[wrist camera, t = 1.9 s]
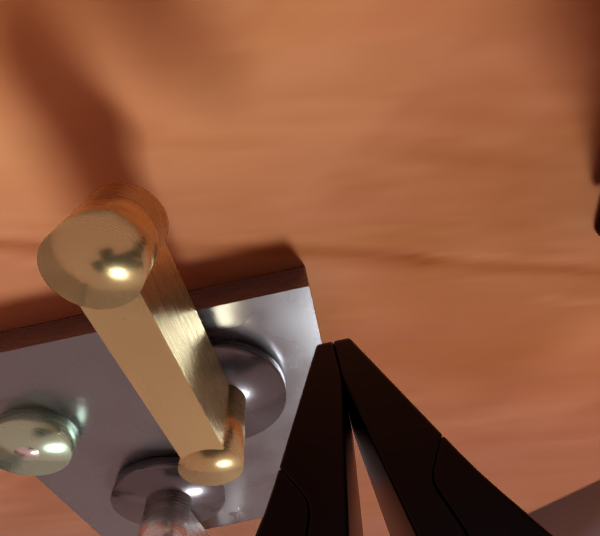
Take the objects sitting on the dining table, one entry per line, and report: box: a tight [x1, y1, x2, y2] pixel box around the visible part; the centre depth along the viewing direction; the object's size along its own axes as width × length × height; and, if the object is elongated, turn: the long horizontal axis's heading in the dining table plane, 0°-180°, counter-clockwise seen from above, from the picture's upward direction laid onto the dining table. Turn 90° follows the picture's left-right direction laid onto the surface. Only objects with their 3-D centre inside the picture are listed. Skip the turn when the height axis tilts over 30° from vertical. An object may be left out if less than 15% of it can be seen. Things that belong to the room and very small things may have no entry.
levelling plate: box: [0, 266, 322, 536], centre depth 19 cm, size 16×17×2 cm
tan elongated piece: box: [37, 183, 286, 486], centre depth 13 cm, size 13×6×4 cm, turn 11°
